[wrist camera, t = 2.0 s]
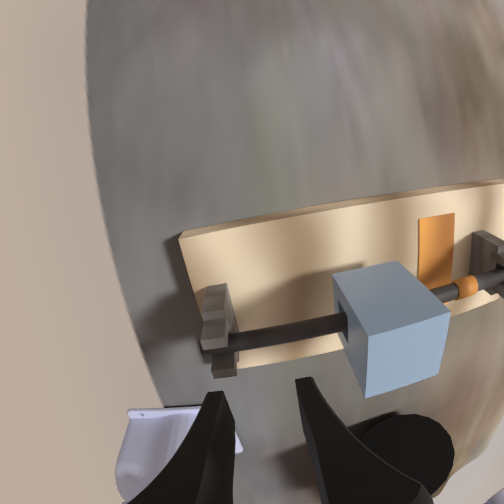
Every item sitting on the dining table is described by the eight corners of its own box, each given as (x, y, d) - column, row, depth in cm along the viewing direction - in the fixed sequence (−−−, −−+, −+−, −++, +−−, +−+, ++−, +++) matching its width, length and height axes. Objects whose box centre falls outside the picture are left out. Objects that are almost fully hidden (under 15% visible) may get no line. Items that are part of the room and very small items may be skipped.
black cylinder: (353, 492, 42) (337, 536, 34) (363, 410, 27) (337, 500, 19) (403, 496, 37) (390, 542, 29) (456, 414, 22) (447, 505, 14)
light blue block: (335, 329, 18) (364, 398, 12) (331, 274, 16) (368, 336, 11) (394, 314, 18) (437, 374, 12) (396, 260, 16) (450, 311, 11)
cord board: (221, 357, 22) (215, 425, 16) (183, 231, 19) (155, 277, 12) (489, 290, 21) (533, 327, 15) (499, 179, 18) (557, 198, 11)
